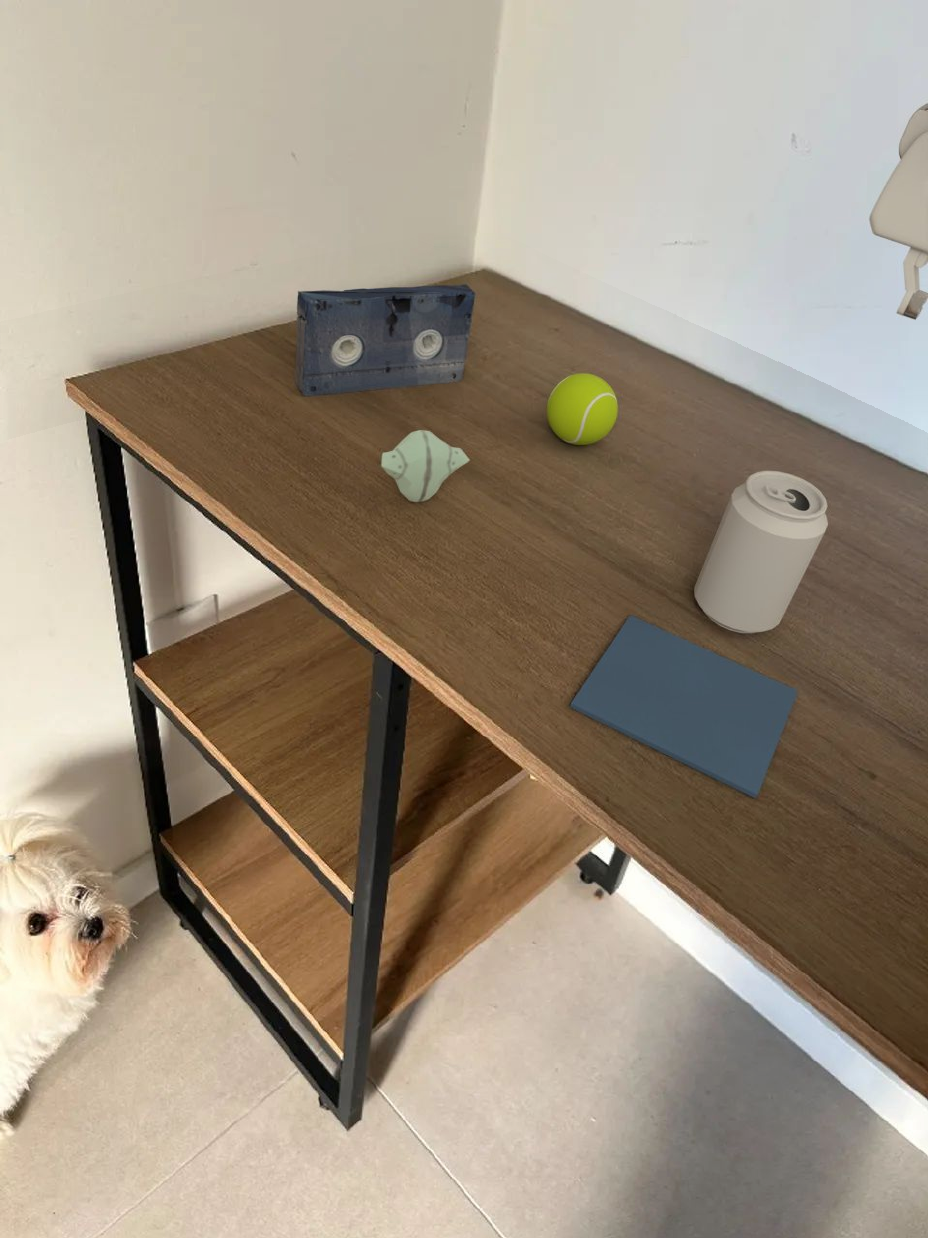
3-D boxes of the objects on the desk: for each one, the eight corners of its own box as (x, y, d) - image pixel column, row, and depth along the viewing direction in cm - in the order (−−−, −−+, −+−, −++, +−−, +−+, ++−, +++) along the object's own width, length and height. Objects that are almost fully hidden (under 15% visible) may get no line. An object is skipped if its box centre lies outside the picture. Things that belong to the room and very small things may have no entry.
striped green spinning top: (378, 516, 81) (385, 449, 76) (366, 489, 83) (372, 423, 79) (465, 509, 83) (476, 444, 79) (450, 483, 86) (460, 419, 82)
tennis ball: (621, 448, 96) (639, 386, 91) (574, 465, 92) (590, 401, 87) (574, 416, 99) (589, 355, 95) (527, 431, 95) (540, 368, 91)
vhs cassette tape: (454, 370, 103) (467, 282, 97) (465, 383, 101) (479, 294, 95) (292, 382, 96) (295, 288, 89) (301, 397, 94) (304, 302, 87)
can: (788, 645, 76) (849, 526, 68) (698, 634, 75) (750, 512, 67) (767, 586, 81) (822, 470, 73) (684, 576, 81) (730, 457, 73)
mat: (795, 695, 71) (798, 690, 71) (755, 799, 63) (757, 794, 62) (628, 619, 75) (630, 614, 75) (569, 707, 67) (570, 702, 66)
